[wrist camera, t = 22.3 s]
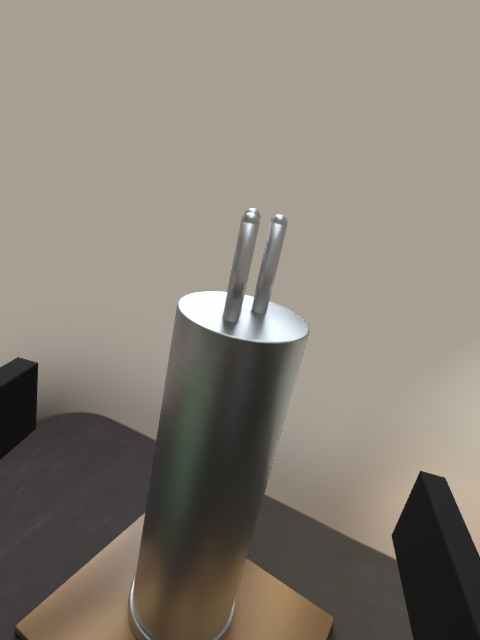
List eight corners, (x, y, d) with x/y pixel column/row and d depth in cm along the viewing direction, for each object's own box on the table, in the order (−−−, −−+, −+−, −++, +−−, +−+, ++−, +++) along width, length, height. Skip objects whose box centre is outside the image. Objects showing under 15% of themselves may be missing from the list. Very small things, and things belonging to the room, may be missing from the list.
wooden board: (14, 632, 24) (14, 626, 24) (158, 504, 35) (159, 499, 35) (241, 874, 18) (244, 867, 17) (332, 623, 29) (334, 617, 28)
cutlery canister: (134, 678, 23) (215, 214, 14) (123, 565, 29) (174, 190, 20) (247, 646, 26) (375, 240, 17) (216, 549, 32) (297, 212, 23)
